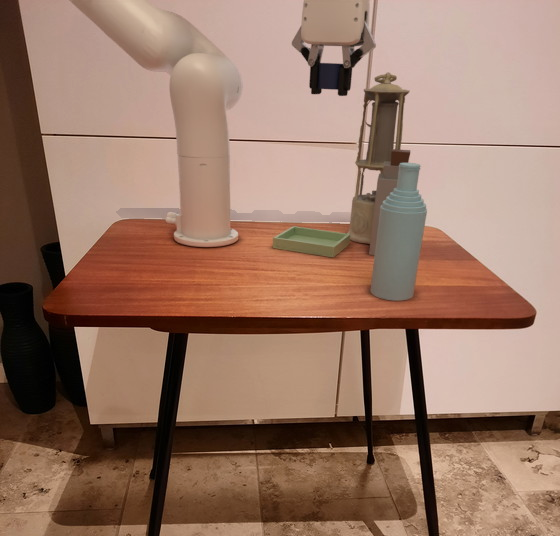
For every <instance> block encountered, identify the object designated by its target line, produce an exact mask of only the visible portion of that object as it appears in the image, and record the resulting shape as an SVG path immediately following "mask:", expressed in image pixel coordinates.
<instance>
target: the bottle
mask: <svg viewBox="0 0 560 536" xmlns="http://www.w3.org/2000/svg"><path fill="white" fill-rule="evenodd" d="M421 167H422V166H421V164H419V163H416V162H408V163H400V165H399V172H398V180H397V188H394V190H393V192H391V193H390V196H387V197H386V200H384V201H383V203H382V205H381V207H380V215H379V223H378V232H377V240H376V248H375V255H373V256H374V258H373V265H372V266H373V267H372V272H371V273H372V274H371V282H370V290H369V291H370V294H371V295H372V296H374V297H376V298H378V299H381V300H385V301H394V302H401V301H402V302H403V301H408V300H411V299H412V298H413V297H414V294H415V287H416V282H417V281H416V280H417V276H418V270H419V269H418V268H419V263H420V258H421V250H422V244H423V240H424V239H423V238H424V232H425V225H426V221H427V214H428V208H427V203H425V199H424V198H422V194H420V190H419V189H417V188H418V182H419V176H420V171H421Z"/></svg>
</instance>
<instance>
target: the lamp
mask: <svg viewBox="0 0 560 536" xmlns="http://www.w3.org/2000/svg"><path fill="white" fill-rule="evenodd" d="M373 79H374V82H375V83H377V84H376V85H373V86H372V87H370V88H363V92H364V96H363V112H362V120H361V125H360V129H359V138H358V146H357V148H358V151H357V156H356V160H355V162H354V163H355V165H356V166H357V169H358V171H357V178H356V185H355V194H354V196H353V197H352V200H351V210H350V219H349V227H348V230H347V232H346V234H351V236H350V241H351V242H355V243H359V244H367V245H370V241H371V233H372V224H373V215H374V207H375V198H376V190H371V192H366V193H365V194H363V189H364V179H365V174H364V173H365V171H366V170H369V171H375V172H376V171H377V172H378V171H379V173H380V174H384V168H383V165H384V161H388V162H391V151H392V149H398V150H402V149H401V147H402V139H403V138H402V137H403V128H404V127H403V126H404V110H405V109H404V107H405V103H406V96H407V95H409V94H410V92H411V91H410V89H409V90H408V89H403V87H402V86H401V87H400V85H398V84H394V83H392V82H396V81H397V79H398V78H397V75H395V74H392V73H391V72H386V73H385V74H379V75H377V76H375V77H374V78H373ZM370 102H372V103H371V106H372V108H371V119H370V122H371V123H370V124H369V123H368V122H367V121H366V120H365V118H366V111H367V107H368V105H369V104H370ZM396 123H397V125H396ZM365 125H366V126H367V127H368V128H369V135H368V143H367V151H366V157H365V159H361V152H362V145H363V136H364V128H365ZM395 134H396V136H395ZM394 146H395V147H394ZM361 169H362V172H361Z"/></svg>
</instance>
